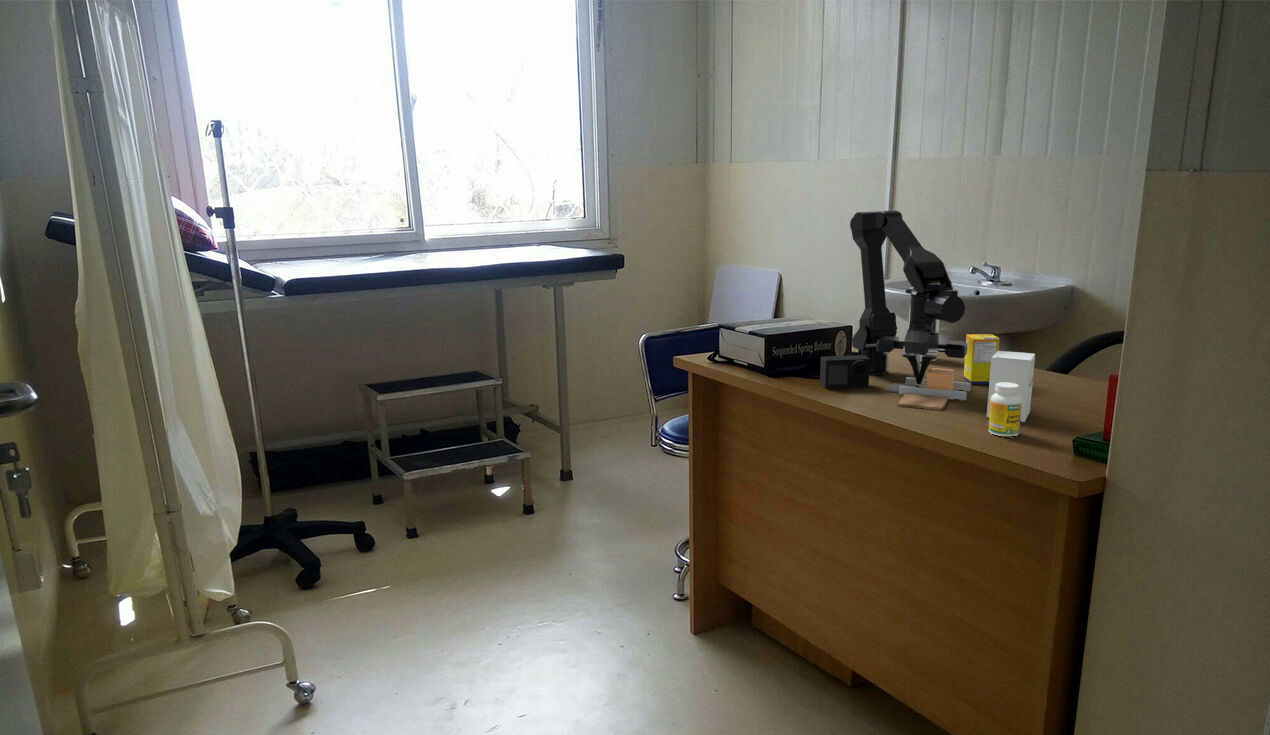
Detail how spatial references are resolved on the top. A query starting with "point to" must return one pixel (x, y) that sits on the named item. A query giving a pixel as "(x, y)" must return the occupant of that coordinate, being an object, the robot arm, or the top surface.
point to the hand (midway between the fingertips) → (919, 383)
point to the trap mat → (896, 387)
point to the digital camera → (844, 372)
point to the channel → (935, 392)
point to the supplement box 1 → (979, 357)
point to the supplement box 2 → (1013, 376)
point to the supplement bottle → (1005, 410)
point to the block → (940, 379)
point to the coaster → (923, 401)
